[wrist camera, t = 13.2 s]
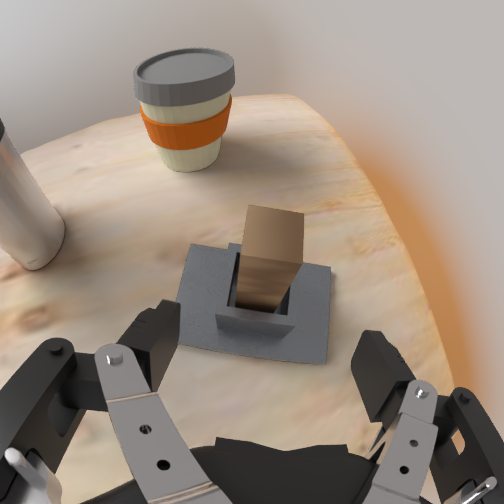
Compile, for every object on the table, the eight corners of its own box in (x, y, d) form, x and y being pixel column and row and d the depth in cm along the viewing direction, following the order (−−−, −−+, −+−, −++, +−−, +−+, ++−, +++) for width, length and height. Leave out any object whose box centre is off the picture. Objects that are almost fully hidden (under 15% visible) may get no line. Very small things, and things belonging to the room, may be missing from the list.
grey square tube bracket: (168, 341, 26) (153, 327, 21) (192, 247, 31) (185, 215, 26) (322, 364, 26) (347, 357, 21) (327, 270, 32) (348, 243, 26)
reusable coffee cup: (226, 184, 36) (229, 86, 23) (138, 179, 36) (113, 89, 23) (235, 129, 42) (240, 48, 29) (162, 127, 42) (151, 49, 28)
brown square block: (234, 312, 26) (240, 254, 15) (239, 279, 28) (248, 204, 17) (270, 317, 26) (302, 263, 15) (274, 284, 28) (304, 213, 17)
